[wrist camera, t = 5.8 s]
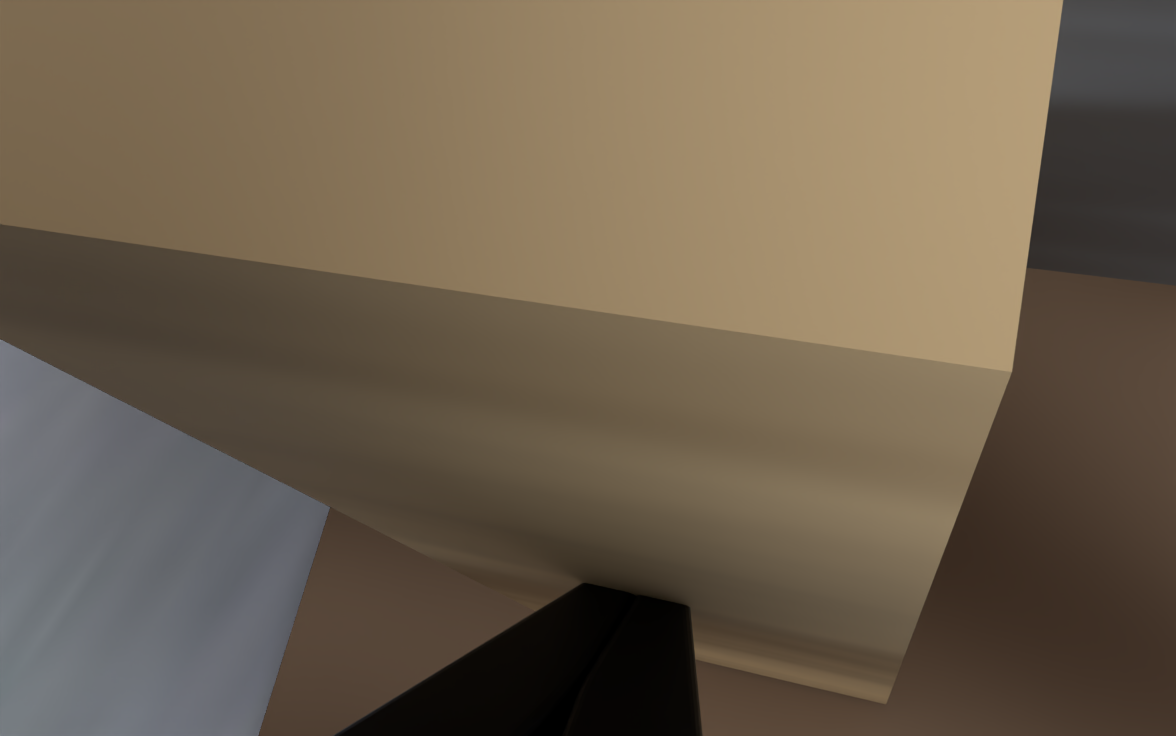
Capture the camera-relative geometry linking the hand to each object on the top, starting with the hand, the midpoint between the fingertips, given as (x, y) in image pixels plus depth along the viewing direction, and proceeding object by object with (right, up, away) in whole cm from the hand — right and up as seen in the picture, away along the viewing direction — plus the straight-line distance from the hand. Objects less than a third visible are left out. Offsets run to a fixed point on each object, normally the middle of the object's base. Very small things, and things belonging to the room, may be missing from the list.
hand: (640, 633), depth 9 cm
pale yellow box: (+2, +2, +6) cm, 7 cm away
